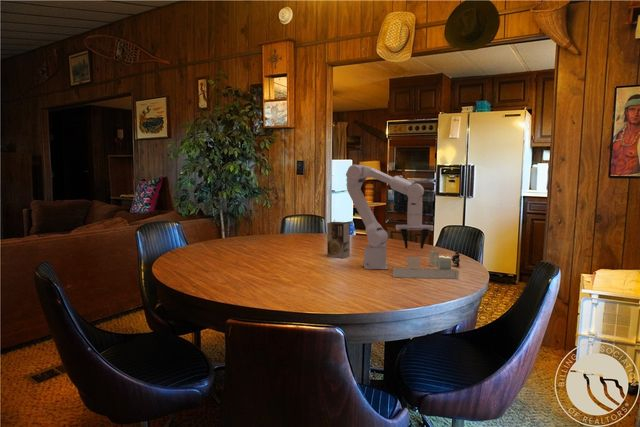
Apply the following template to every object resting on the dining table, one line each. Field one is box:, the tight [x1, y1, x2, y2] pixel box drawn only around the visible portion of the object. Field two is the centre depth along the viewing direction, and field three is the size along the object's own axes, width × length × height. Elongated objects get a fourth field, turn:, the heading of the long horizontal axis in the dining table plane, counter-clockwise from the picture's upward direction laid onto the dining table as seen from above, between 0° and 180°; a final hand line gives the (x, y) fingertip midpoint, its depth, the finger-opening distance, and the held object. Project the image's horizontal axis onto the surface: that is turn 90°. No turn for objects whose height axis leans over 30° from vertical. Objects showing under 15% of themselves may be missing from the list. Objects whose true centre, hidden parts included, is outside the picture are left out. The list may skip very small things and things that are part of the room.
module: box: [406, 254, 421, 268], centre depth 169 cm, size 4×7×6 cm
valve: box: [428, 249, 461, 267], centre depth 180 cm, size 7×7×12 cm
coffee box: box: [326, 221, 351, 259], centre depth 200 cm, size 9×6×16 cm
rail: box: [392, 258, 460, 280], centre depth 163 cm, size 24×8×6 cm, turn 86°
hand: (413, 248), depth 170 cm, fingers open, 5 cm apart
